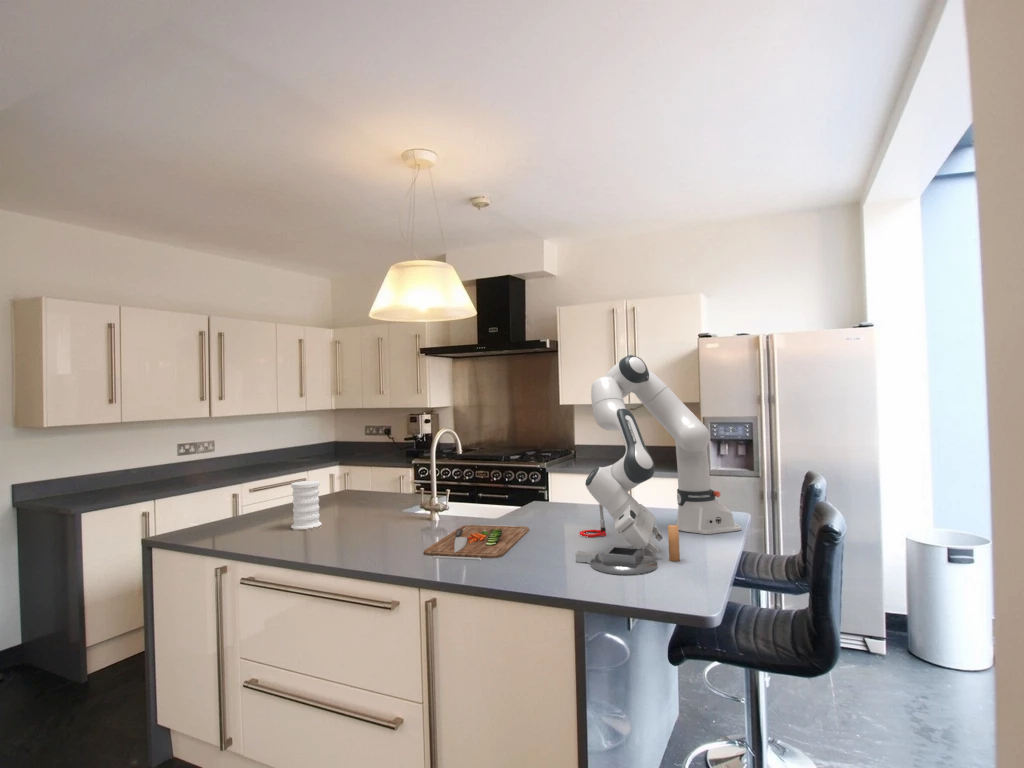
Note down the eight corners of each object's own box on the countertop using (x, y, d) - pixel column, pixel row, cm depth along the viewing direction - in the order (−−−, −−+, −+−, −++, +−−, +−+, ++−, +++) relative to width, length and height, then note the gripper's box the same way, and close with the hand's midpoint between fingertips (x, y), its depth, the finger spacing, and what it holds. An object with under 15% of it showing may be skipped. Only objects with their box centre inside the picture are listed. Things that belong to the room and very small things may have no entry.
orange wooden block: (677, 558, 173) (676, 524, 173) (681, 561, 170) (680, 526, 170) (667, 558, 173) (666, 525, 173) (671, 561, 170) (670, 527, 170)
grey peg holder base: (587, 552, 182) (587, 539, 182) (663, 559, 172) (662, 545, 172) (566, 569, 165) (566, 555, 165) (649, 578, 155) (649, 563, 155)
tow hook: (580, 539, 201) (607, 537, 201) (577, 502, 202) (603, 500, 201) (578, 533, 210) (604, 531, 209) (575, 497, 210) (601, 496, 210)
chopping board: (497, 562, 176) (497, 552, 176) (417, 558, 183) (416, 549, 183) (532, 528, 220) (532, 520, 220) (466, 526, 227) (465, 519, 227)
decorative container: (285, 529, 231) (284, 483, 231) (310, 523, 241) (309, 479, 241) (303, 532, 224) (301, 485, 225) (327, 526, 234) (326, 481, 234)
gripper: (626, 505, 190) (656, 536, 188) (614, 531, 171) (647, 567, 169) (639, 493, 187) (670, 525, 186) (629, 519, 169) (663, 555, 167)
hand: (659, 545), depth 177 cm, fingers open, 8 cm apart
